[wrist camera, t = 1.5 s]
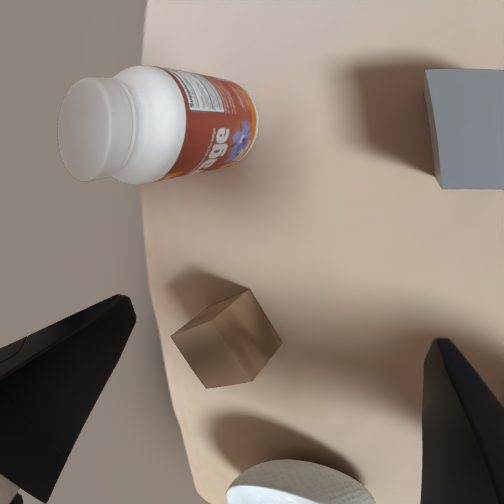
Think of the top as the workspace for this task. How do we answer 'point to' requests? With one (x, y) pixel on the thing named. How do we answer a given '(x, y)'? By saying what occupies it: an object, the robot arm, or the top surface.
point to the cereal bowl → (296, 485)
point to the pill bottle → (154, 125)
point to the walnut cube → (228, 341)
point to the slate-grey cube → (466, 126)
